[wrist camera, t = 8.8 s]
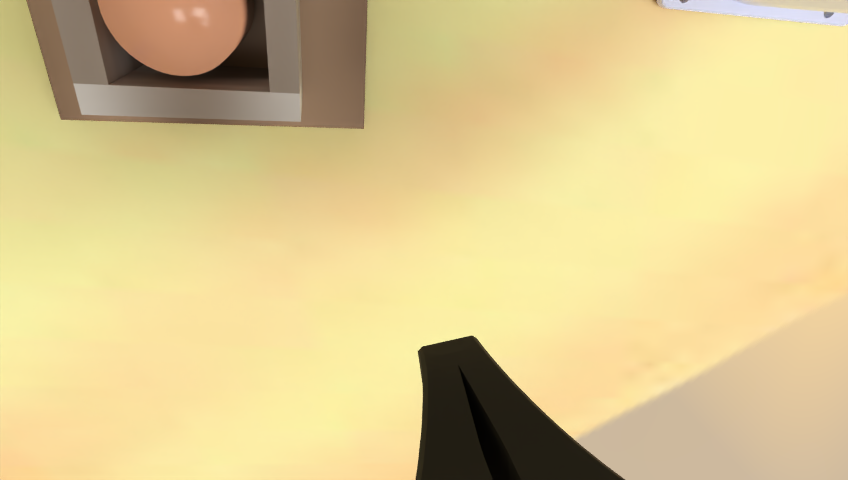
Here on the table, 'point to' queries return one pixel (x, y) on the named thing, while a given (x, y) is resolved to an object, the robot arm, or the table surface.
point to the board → (225, 84)
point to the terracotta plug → (179, 31)
